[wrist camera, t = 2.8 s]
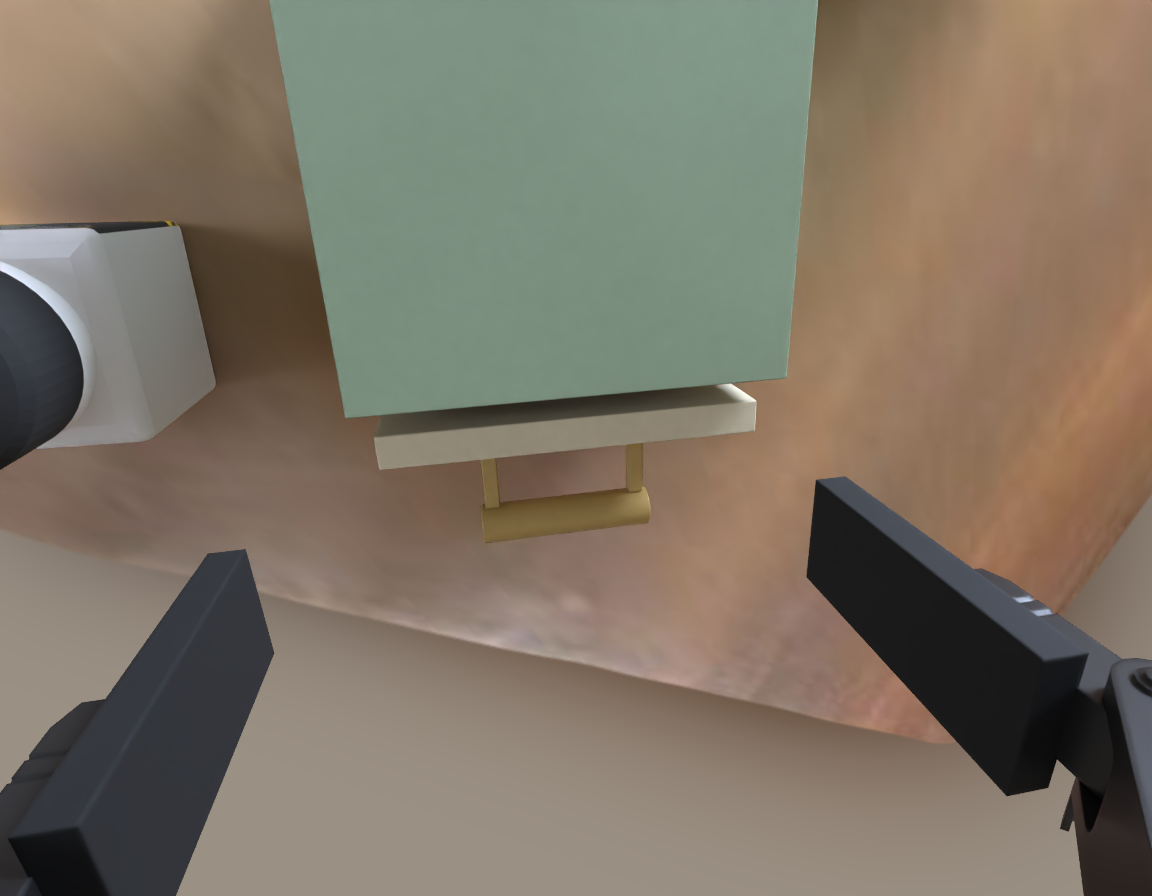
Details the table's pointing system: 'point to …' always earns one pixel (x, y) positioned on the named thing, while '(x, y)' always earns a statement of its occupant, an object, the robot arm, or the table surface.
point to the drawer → (562, 448)
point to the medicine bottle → (96, 334)
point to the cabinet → (549, 192)
